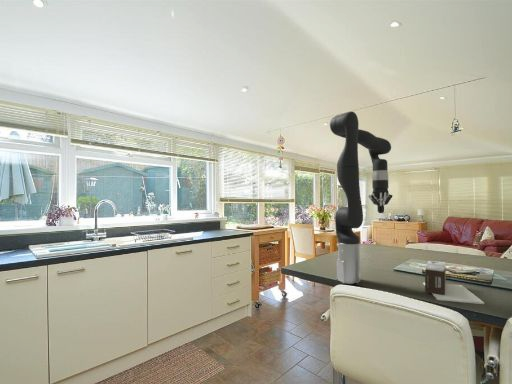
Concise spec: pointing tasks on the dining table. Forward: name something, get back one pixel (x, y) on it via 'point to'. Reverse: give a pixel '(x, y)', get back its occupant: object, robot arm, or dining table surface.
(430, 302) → the dining table surface
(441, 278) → the coffee box
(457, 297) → the white flat rectangular board
